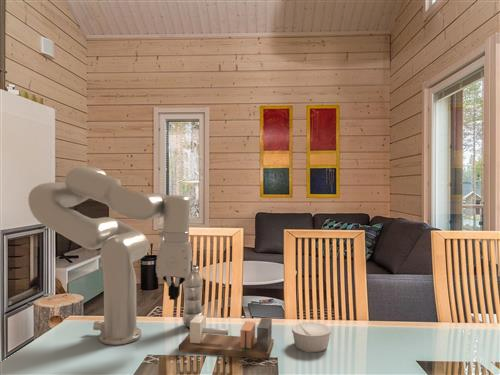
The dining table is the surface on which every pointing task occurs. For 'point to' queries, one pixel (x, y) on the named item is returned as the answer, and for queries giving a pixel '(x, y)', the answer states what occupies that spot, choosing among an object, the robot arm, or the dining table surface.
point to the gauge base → (234, 343)
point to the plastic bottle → (192, 297)
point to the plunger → (202, 329)
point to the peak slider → (247, 335)
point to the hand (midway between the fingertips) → (173, 298)
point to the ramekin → (311, 336)
